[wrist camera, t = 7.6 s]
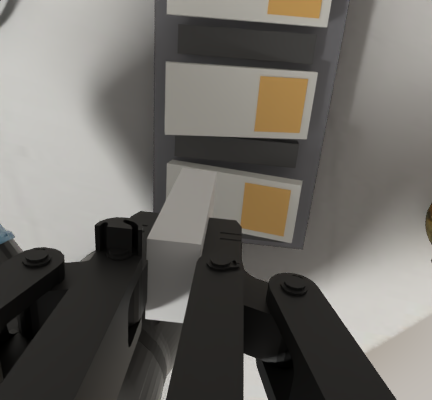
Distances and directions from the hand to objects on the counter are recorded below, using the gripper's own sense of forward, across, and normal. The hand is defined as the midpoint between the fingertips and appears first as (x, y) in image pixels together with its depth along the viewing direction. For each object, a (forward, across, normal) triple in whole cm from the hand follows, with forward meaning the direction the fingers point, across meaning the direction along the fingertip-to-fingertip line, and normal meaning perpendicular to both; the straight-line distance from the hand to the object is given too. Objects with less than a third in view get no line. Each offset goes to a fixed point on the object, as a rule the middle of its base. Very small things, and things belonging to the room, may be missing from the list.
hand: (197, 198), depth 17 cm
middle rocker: (+14, -2, -3) cm, 14 cm away
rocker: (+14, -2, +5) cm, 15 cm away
